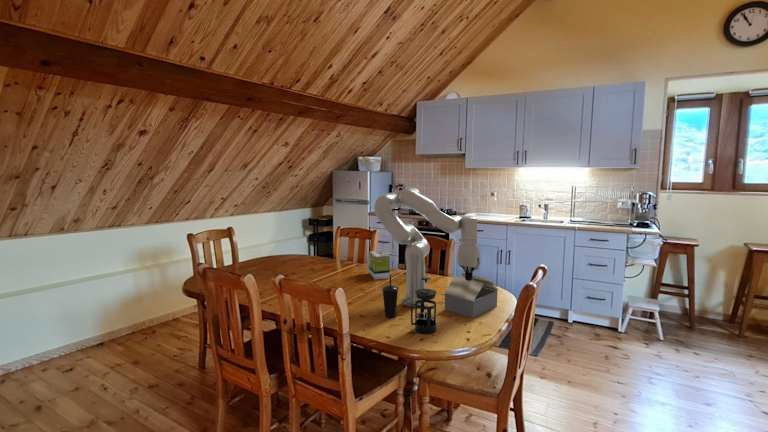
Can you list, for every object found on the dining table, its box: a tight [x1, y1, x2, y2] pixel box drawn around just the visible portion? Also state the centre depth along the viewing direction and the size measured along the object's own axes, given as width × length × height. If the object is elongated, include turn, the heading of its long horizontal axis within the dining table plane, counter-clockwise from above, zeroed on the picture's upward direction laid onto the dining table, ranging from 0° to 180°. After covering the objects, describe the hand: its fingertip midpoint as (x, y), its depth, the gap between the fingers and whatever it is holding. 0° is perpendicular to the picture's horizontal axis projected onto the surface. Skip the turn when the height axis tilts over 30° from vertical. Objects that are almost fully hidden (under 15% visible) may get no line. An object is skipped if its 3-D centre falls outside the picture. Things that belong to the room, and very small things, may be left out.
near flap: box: [444, 275, 484, 301], centre depth 197 cm, size 11×16×1 cm
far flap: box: [461, 272, 499, 292], centre depth 207 cm, size 11×16×1 cm
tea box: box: [368, 250, 391, 280], centre depth 259 cm, size 15×10×15 cm, turn 17°
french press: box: [410, 276, 437, 335], centre depth 175 cm, size 12×9×23 cm
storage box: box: [444, 287, 498, 319], centre depth 203 cm, size 22×16×8 cm
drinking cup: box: [381, 274, 399, 319], centre depth 191 cm, size 8×8×20 cm
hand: (468, 279), depth 198 cm, fingers closed
